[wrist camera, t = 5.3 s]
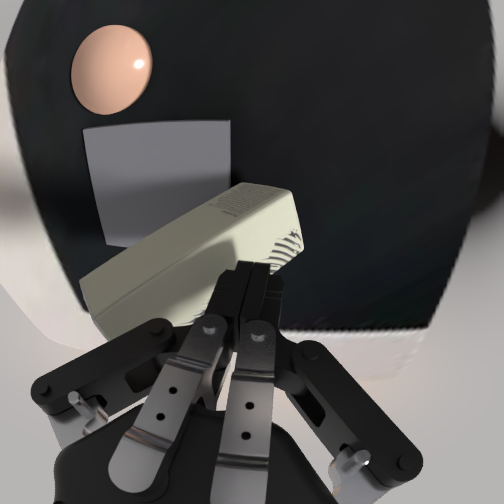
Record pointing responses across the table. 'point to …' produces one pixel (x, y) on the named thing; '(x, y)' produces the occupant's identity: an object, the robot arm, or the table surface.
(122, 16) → the table surface
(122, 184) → the mat
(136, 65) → the glossy peach dome
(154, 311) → the box
